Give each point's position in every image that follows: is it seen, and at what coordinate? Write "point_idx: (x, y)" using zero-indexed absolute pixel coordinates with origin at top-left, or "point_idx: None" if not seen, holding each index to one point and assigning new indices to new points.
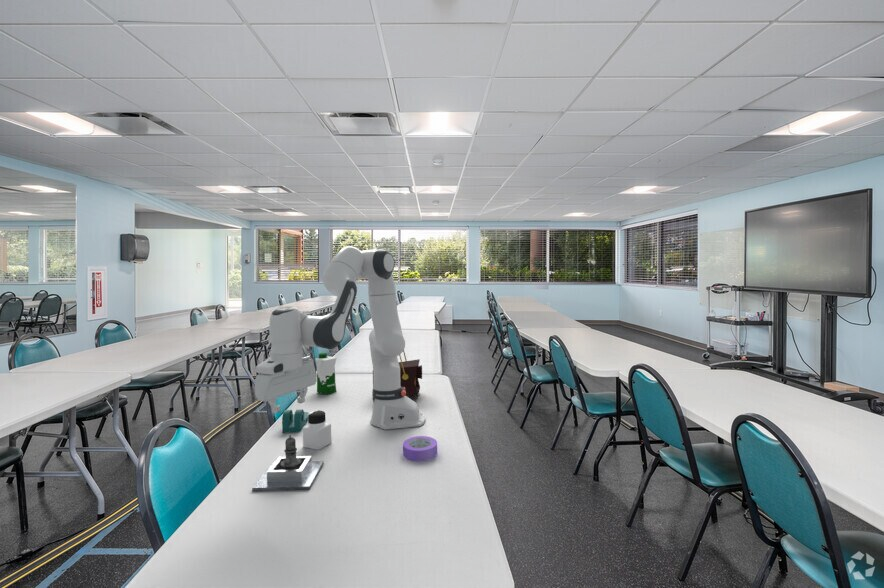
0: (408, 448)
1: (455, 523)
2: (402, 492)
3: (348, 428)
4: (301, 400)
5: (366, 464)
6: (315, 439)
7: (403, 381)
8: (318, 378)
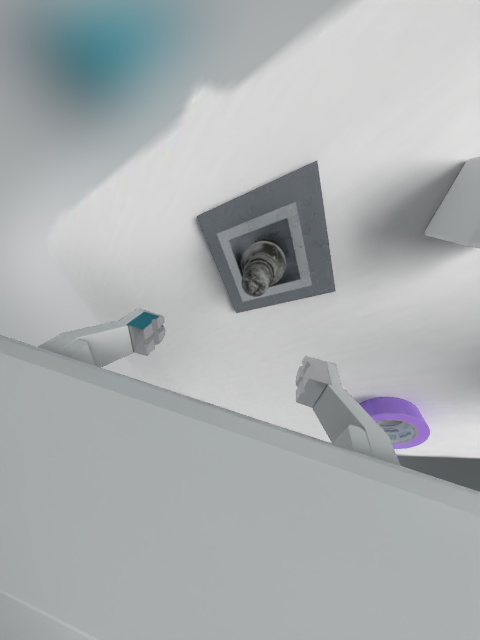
0: None
1: None
2: (264, 404)
3: None
4: (298, 388)
5: (336, 358)
6: (448, 228)
7: None
8: None
